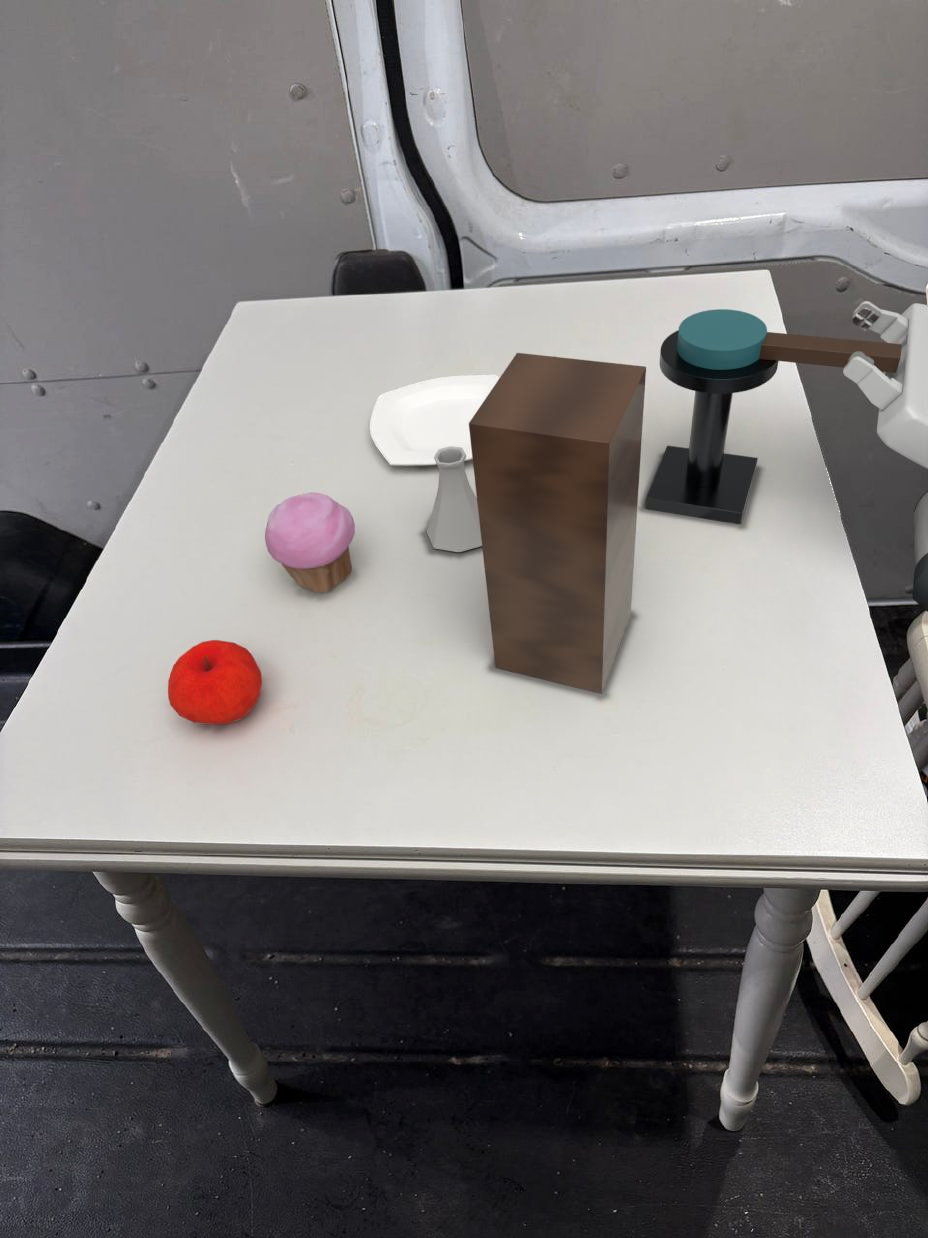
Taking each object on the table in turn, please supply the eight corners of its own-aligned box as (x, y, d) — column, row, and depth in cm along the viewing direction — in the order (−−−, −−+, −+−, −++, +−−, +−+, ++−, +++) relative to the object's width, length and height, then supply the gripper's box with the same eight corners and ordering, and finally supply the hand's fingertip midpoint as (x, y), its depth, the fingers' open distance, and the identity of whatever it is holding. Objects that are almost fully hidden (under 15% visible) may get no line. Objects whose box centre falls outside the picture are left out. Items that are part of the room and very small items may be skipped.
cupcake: (381, 566, 88) (363, 489, 81) (332, 619, 83) (308, 543, 76) (315, 543, 91) (292, 468, 84) (264, 593, 87) (236, 518, 79)
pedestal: (630, 615, 79) (646, 366, 61) (601, 693, 73) (609, 443, 55) (530, 594, 83) (516, 352, 64) (495, 668, 76) (468, 423, 58)
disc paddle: (899, 344, 77) (905, 323, 76) (894, 389, 72) (900, 368, 71) (686, 324, 84) (688, 305, 82) (668, 364, 79) (670, 345, 77)
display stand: (761, 466, 93) (787, 327, 81) (744, 528, 86) (771, 385, 74) (662, 452, 97) (674, 317, 85) (639, 510, 90) (648, 372, 78)
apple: (184, 755, 73) (153, 703, 68) (184, 688, 78) (156, 635, 73) (275, 733, 74) (251, 679, 68) (268, 668, 79) (246, 613, 74)
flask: (493, 552, 87) (486, 474, 80) (425, 556, 88) (411, 479, 81) (493, 508, 93) (486, 431, 85) (428, 513, 93) (416, 437, 86)
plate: (540, 459, 98) (540, 445, 97) (378, 488, 97) (375, 474, 96) (509, 378, 111) (508, 365, 110) (366, 403, 111) (364, 389, 109)
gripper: (948, 510, 71) (815, 422, 70) (950, 386, 84) (837, 310, 83) (1014, 462, 66) (872, 366, 65) (1006, 338, 79) (887, 257, 78)
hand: (853, 334), depth 74 cm, fingers open, 8 cm apart
